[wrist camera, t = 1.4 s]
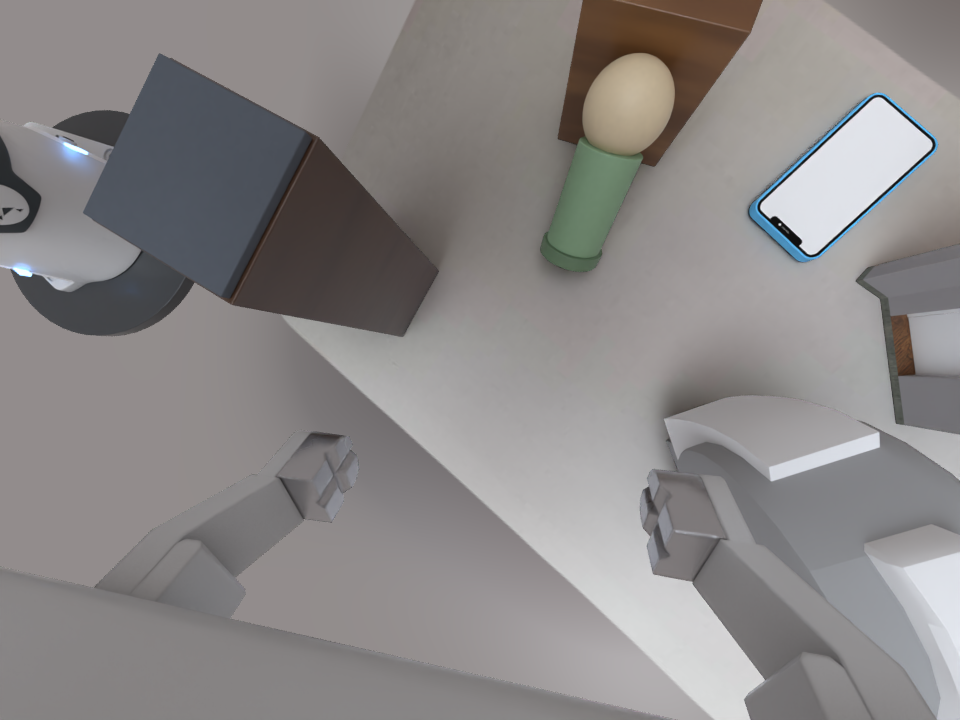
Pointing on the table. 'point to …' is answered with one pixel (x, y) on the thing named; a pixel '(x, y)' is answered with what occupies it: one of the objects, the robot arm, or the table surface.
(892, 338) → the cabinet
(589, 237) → the toy
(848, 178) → the smartphone
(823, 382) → the table surface
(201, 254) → the mat
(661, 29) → the wooden block
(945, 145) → the table surface
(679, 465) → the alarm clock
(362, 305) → the pedestal
